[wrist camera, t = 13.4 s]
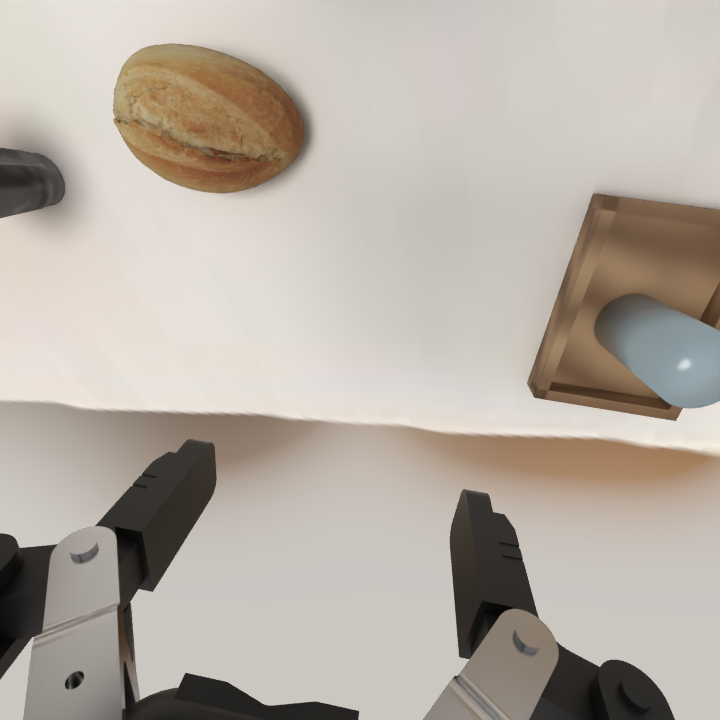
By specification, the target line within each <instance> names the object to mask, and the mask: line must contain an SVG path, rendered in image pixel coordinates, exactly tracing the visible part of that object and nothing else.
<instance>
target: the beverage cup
mask: <svg viewBox="0 0 720 720" xmlns="http://www.w3.org/2000/svg"><path fill="white" fill-rule="evenodd" d="M64 191H65V190H64V181H63V178H62V175H61V173H60V172H59V170H58V168H57V167H56V166H55V165H54V164H53V163H52V161H50V160H49V159H47V158H46V157H45V156H42V155H39V154H32V153H28V152H24V151H20V150H13V149H6V148H0V218H3V217H7V216H11V215H16V214H20V213H24V212H29V211H33V210H37V209H41V208H44V207H46V206H49V205H54V204H57V203H59V202H60V200H61V199H62V198H63V195H64Z"/></svg>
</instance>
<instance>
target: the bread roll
mask: <svg viewBox="0 0 720 720" xmlns="http://www.w3.org/2000/svg"><path fill="white" fill-rule="evenodd" d="M114 91H115V92H114V104H113V107H114V108H113V112H114V116H115V119H114V123H115V124H116V126H117V127H118V130H119V132H120V134H121V136H122V137H123V140H124V141H125V143H126V145H127V146H128V148H129V149H130V150H131V152H132V153H133V154H134V156H135V157H136V158H137V159H138V160H140V161H141V162H142V163H143V164H144V165H145V166H147V167H148V168H149V169H151V170H152V171H154V172H155V173H156V174H158V175H159V176H161V177H163V178H164V179H166V180H168V181H170V182H173V183H175V184H177V185H180V186H183V187H186V188H189V189H193V190H198V191H202V192H211V193H231V192H237V191H242V190H247V189H250V188H252V187H256V186H258V185H260V184H262V183H264V182H265V181H267V180H269V179H271V178H273V177H275V176H276V175H277V174H279V173H280V172H281V171H282V170H284V169H285V168H286V167H287V166H288V165H289V164H290V163H291V162H292V161H293V160H294V158H295V157H296V156H297V155H298V153H299V151H300V149H301V146H302V143H303V140H304V127H303V122H302V119H301V116H300V114H299V112H298V111H297V109H296V107H295V105H294V103H293V102H292V100H291V98H290V97H289V96H288V95H287V94H286V92H285V91H284V90H283V89H282V88H281V87H280V86H279V85H278V84H277V83H275V82H274V81H273V80H272V79H270V78H269V77H268V76H267V75H265V74H264V73H263V72H261V71H260V70H258V69H257V68H255V67H253V66H251V65H249V64H248V63H246V62H244V61H241V60H239V59H237V58H234V57H232V56H229V55H227V54H224V53H222V52H218V51H214V50H211V49H207V48H203V47H198V46H192V45H182V44H163V45H153V46H148V47H146V48H143V49H141V50H139V51H137V52H136V53H134V54H133V55H132V56H131V57H130V58H129V59H128V60H127V61H126V63H125V64H124V65H123V67H122V69H121V72H120V74H119V77H118V80H117V83H116V87H115V89H114Z"/></svg>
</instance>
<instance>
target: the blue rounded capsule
mask: <svg viewBox="0 0 720 720" xmlns="http://www.w3.org/2000/svg"><path fill="white" fill-rule="evenodd" d="M594 330H595V336H596V339H597V341H598V342H599V344H600V345H601V346H602V347H604V348H605V349H606V350H607V351H608V352H609V353H611V354H612V355H613V356H614V357H615V358H616V359H617V360H619V361H620V362H621V363H622V364H623V365H624V366H625V367H627V368H628V369H629V370H630V371H631V372H632V373H633V374H635V375H636V376H637V377H638V378H639V379H640V380H642V381H643V382H644V383H645V384H646V385H647V386H648V387H650V388H651V389H652V390H653V391H654V392H655V393H656V394H658V395H659V396H660V397H661V398H662V399H663V400H664V401H666V402H667V403H669V404H671V405H674V406H677V407H681V408H699V407H704V406H708V405H711V404H714V403H716V402H718V401H720V331H719V330H717V329H715V328H713V327H711V326H709V325H707V324H705V323H703V322H701V321H699V320H697V319H695V318H693V317H690V316H688V315H686V314H684V313H682V312H680V311H678V310H676V309H674V308H672V307H670V306H668V305H666V304H664V303H662V302H660V301H658V300H656V299H654V298H652V297H650V296H647V295H644V294H627V295H623V296H620V297H618V298H616V299H614V300H613V301H611V302H610V303H608V304H607V305H606V306H605V307H604V308H603V309H602V310H601V312H600V313H599V315H598V317H597V319H596V322H595V328H594Z"/></svg>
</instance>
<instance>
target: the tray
mask: <svg viewBox="0 0 720 720" xmlns="http://www.w3.org/2000/svg"><path fill="white" fill-rule="evenodd" d="M627 294H644V295H647V296H650V297H652V298H654V299H656V300H658V301H660V302H662V303H664V304H666V305H668V306H670V307H672V308H674V309H676V310H678V311H680V312H682V313H684V314H686V315H688V316H690V317H693V318H695V319H697V320H699V321H701V322H703V323H705V324H707V325H709V326H711V327H713V328H715V329H717V330H719V331H720V210H716V209H708V208H701V207H693V206H685V205H678V204H670V203H662V202H655V201H647V200H639V199H632V198H624V197H617V196H609V195H601V194H594V193H593V196H592V199H591V202H590V205H589V208H588V210H587V213H586V216H585V219H584V222H583V225H582V228H581V231H580V233H579V236H578V239H577V242H576V245H575V248H574V251H573V254H572V256H571V259H570V262H569V265H568V268H567V271H566V274H565V277H564V279H563V282H562V285H561V288H560V291H559V294H558V297H557V300H556V302H555V305H554V308H553V311H552V314H551V317H550V320H549V323H548V325H547V328H546V331H545V334H544V337H543V340H542V343H541V346H540V348H539V351H538V354H537V357H536V360H535V363H534V366H533V369H532V371H531V374H530V377H529V380H528V383H527V384H528V386H529V388H530V390H531V392H532V394H533V396H534V398H540V399H546V400H552V401H558V402H564V403H570V404H576V405H582V406H588V407H594V408H600V409H606V410H612V411H619V412H625V413H631V414H637V415H643V416H649V417H655V418H661V419H667V420H673V421H676V419H677V418H678V416H679V414H680V412H681V411H682V409H683V408H681V407H677V406H674V405H671V404H669V403H667V402H666V401H664V400H663V399H662V398H661V397H660V396H659V395H658V394H656V393H655V392H654V391H653V390H652V389H651V388H650V387H648V386H647V385H646V384H645V383H644V382H643V381H642V380H640V379H639V378H638V377H637V376H636V375H635V374H633V373H632V372H631V371H630V370H629V369H628V368H627V367H625V366H624V365H623V364H622V363H621V362H620V361H619V360H617V359H616V358H615V357H614V356H613V355H612V354H611V353H609V352H608V351H607V350H606V349H605V348H604V347H602V346H601V345H600V344H599V342H598V341H597V339H596V336H595V330H594V328H595V322H596V319H597V317H598V315H599V313H600V312H601V310H602V309H603V308H604V307H605V306H606V305H607V304H608V303H610V302H611V301H613V300H614V299H616V298H618V297H620V296H623V295H627Z"/></svg>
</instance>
